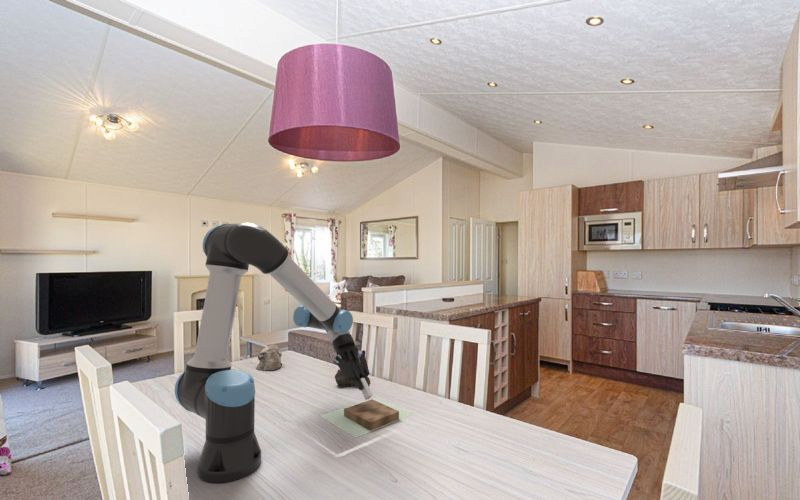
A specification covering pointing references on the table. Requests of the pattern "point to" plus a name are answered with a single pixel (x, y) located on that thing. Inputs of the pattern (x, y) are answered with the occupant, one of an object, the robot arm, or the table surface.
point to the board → (371, 414)
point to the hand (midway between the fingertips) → (369, 397)
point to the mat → (351, 426)
